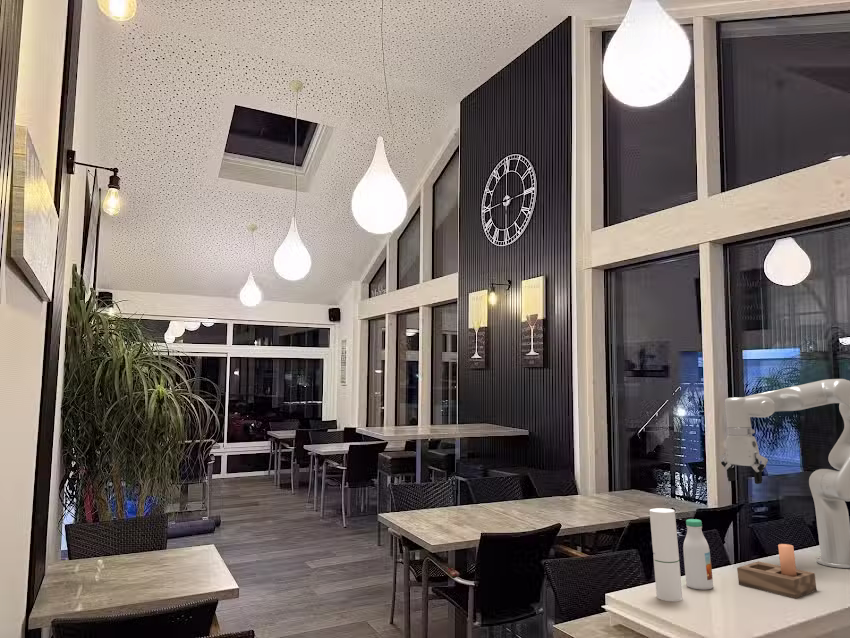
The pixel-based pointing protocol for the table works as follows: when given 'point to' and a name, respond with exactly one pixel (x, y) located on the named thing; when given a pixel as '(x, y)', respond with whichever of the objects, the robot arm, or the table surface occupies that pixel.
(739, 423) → the robot arm
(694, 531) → the milk bottle
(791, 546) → the pin
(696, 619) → the table surface
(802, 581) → the socket block
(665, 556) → the cylindrical container
